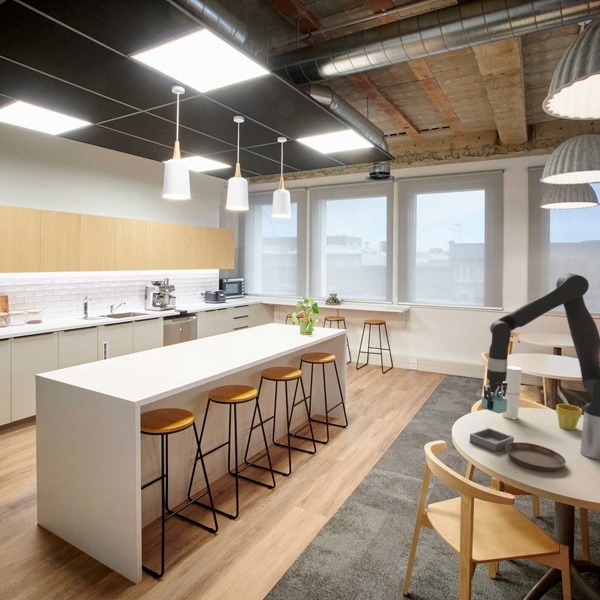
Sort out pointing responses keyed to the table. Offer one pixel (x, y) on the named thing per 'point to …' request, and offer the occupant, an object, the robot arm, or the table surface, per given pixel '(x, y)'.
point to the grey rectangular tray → (491, 439)
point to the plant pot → (568, 416)
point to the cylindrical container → (512, 391)
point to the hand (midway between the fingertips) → (494, 407)
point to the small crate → (496, 404)
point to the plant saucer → (535, 456)
